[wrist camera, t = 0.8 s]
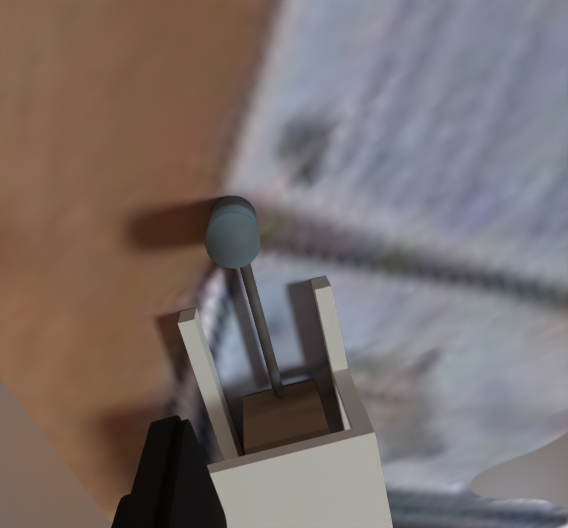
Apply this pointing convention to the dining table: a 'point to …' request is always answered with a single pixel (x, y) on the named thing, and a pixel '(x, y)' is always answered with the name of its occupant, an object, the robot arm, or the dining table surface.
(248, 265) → the knobbed lever joystick
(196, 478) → the robot arm
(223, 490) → the lever switch box
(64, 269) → the dining table surface
